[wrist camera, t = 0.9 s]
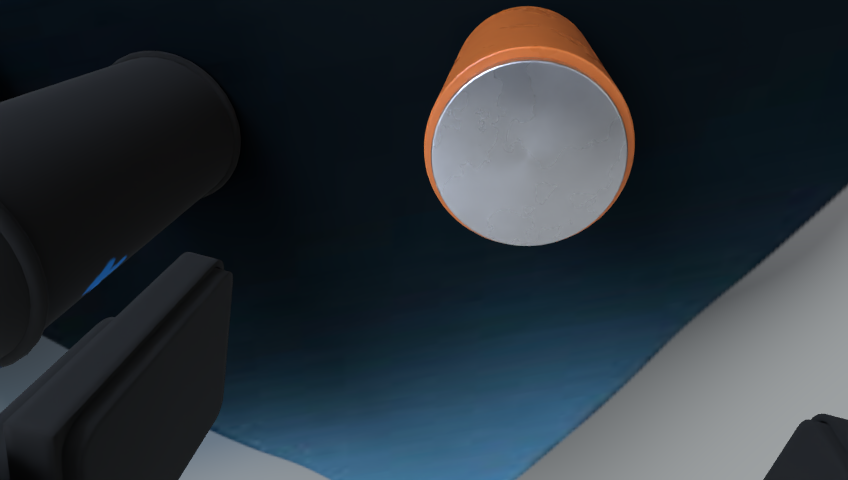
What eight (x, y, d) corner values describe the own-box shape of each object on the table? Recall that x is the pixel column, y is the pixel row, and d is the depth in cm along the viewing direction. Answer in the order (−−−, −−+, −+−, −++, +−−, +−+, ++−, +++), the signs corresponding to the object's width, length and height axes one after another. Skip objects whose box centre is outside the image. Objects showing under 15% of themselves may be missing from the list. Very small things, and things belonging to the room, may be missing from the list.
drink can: (481, -15, 28) (459, 17, 18) (617, 31, 29) (678, 92, 18) (438, 119, 31) (396, 217, 21) (561, 161, 32) (584, 280, 21)
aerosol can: (85, 40, 32) (-451, 174, 14) (239, 59, 31) (-123, 224, 14) (107, 188, 36) (-296, 439, 18) (245, 208, 35) (-33, 489, 17)
